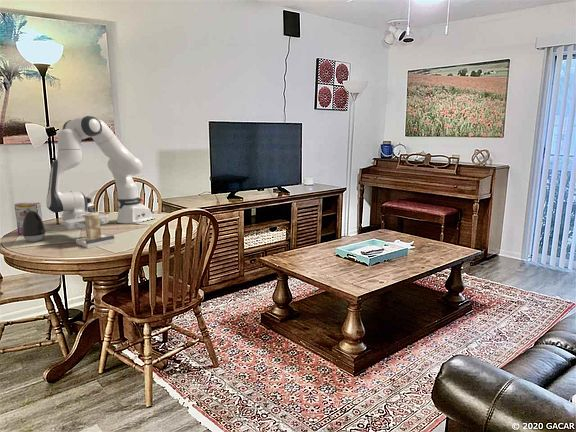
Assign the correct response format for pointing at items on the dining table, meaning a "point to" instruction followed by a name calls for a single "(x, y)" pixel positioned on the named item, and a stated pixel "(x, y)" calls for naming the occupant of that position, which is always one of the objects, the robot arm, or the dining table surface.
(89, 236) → the oak block
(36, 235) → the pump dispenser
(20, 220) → the candy bar box
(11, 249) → the dining table surface
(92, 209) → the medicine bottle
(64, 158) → the robot arm
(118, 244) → the dining table surface
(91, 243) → the dock
